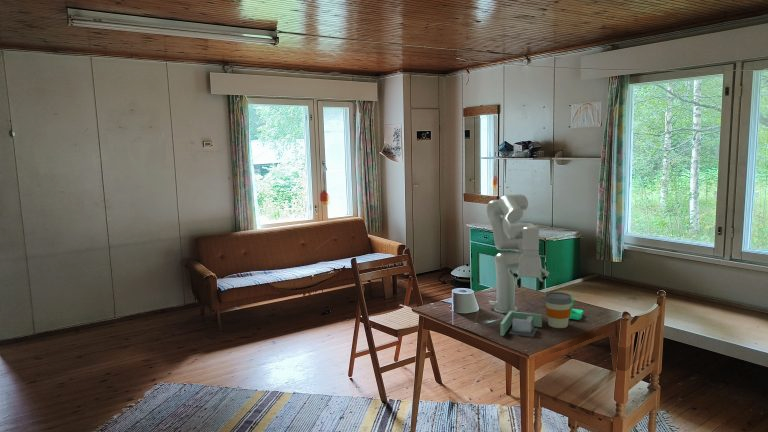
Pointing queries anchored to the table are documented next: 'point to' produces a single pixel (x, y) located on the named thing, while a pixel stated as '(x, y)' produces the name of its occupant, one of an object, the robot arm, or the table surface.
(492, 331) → the table surface
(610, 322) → the table surface
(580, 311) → the camera mount
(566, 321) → the reusable coffee cup
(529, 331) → the bracket
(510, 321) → the corner walls
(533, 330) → the mat
